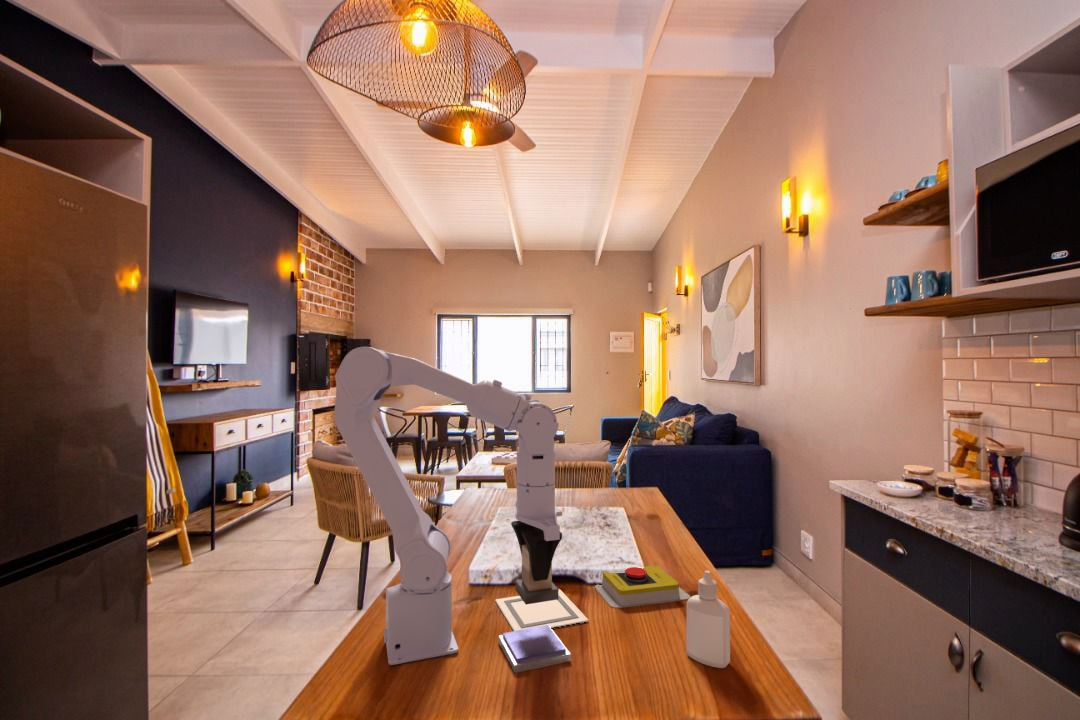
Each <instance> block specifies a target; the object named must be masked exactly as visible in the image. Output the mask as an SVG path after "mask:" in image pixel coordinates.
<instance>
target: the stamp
mask: <svg viewBox="0 0 1080 720" xmlns="http://www.w3.org/2000/svg"><path fill="white" fill-rule="evenodd" d="M552 564H553V563H551V568H550V572H549V576H548V579H547V580H541V581H534V580H533V577H532V573H531V566H530V558H529V552H528V549H527V545H522V556H521V579H516V580H515V591H516V593H517V595H518V596H520V597H521V599H522V600H523V601H524V603H525V604H526V605H527V604H533V603H539V602H545V601H552V600H558V589H559V588H558V586H556V585H555V583H554V582H553V581H552V580H553V579H552V578H553V573H552V572H553V565H552Z"/></svg>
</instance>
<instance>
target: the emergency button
mask: <svg viewBox="0 0 1080 720" xmlns="http://www.w3.org/2000/svg"><path fill="white" fill-rule="evenodd" d="M638 567H639V566H637V567H636V566H631V567H627V569H626V568H625V569H626V570H625V573H609V572H603V571H602V575H603V576H602V577H603V578H601V579H602V580H601V584H602V585H599V584H596V585H594V589H595V588H596V589H595V590H596V591H597V592H598V594H599V595H600V596H601V597H602V598H603V600H604V601H605V602H606V603H607V605H608V606H611V607H610V608H612V607H613V609H622V607H623V608H629V607H630V608H631V607H638V606H647V605H654V604H663V603H671V602H681V601H686V600H687V601H688V599H689V598H690V597H691V595H690V594H688V593H687V592H686V591H685V590H684V589H682V588H681V587H680V585H679V582H678V581H677V580H676V579H674V577H672V576H671V575H669V573H667V572H665V571H664V570H663V569H662V568H660V567H659V566H657V565H646V566H643V567H644V568H643V569H642V568H638Z"/></svg>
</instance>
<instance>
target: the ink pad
mask: <svg viewBox="0 0 1080 720" xmlns="http://www.w3.org/2000/svg"><path fill="white" fill-rule="evenodd" d="M498 644H499V647H500V648H501V650H502V652H503V654H504V655H505V657H506V659H507V661H508V663H509V665H510V667H511V669H512V671H513V672H514V674H518V673H522V672H526V671H531V670H532V671H533V670H536V669H540V668H546V667H549V666H550V667H551V666H556V665H558V664H559V665H560V664H564V662H565V663H569V662H571V661H572V659H571V657H572V654H571V652H570V651H569V650H568V648H567V647H566V646H565V644H564V643H563V642H562V640H561V639H560V638H559V637H558V635H557V634H556V633H555V631H554V630H553V629H551V627H550V626H548V625H545V626H539V627H534V628H529V629H523V630H518V631H513V630H512V631H508V632H503V633H502V634H500V635H498Z"/></svg>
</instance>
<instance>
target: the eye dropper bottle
mask: <svg viewBox="0 0 1080 720" xmlns="http://www.w3.org/2000/svg"><path fill="white" fill-rule="evenodd" d="M717 583H718V582H717V581H716V580H715V579H713V578H712V574H711V571H709V570H705V571H704V575H703V578H700V579H698V583H697V584H698V594H695V595H692V596H690V598H689V599H688V600H687V601H686V615H685V616H686V622H685V623H686V625H685V626H686V630H685V631H686V637H685V638H686V639H685V640H686V654H687V656H689V657H690V658H691V659H692V660H694V661H695V662H698V663H699V664H702V665H705V666H709V667H712V668H718V669H725V668H727V666H728V665H729V663H730V662H731V617H730V615H731V614H730V608H729V607H728V605H727V604H726V603H725V602H723V601H722V600H721V599H719V598H718V584H717Z"/></svg>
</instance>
